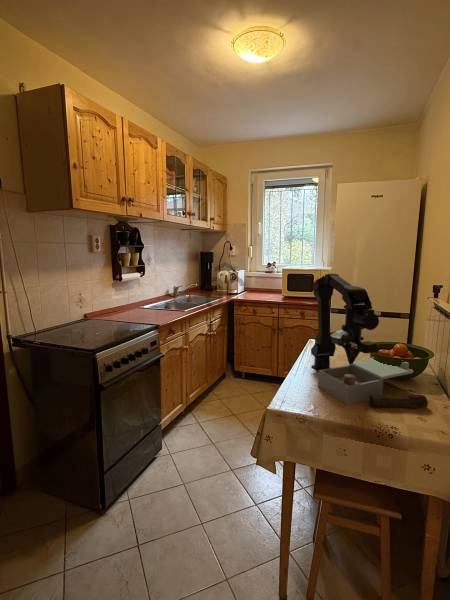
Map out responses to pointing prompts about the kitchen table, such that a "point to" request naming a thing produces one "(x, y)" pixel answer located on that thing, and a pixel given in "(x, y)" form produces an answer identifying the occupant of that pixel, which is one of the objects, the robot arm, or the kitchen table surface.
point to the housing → (351, 394)
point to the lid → (382, 368)
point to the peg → (349, 379)
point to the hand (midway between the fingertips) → (350, 363)
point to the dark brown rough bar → (399, 401)
